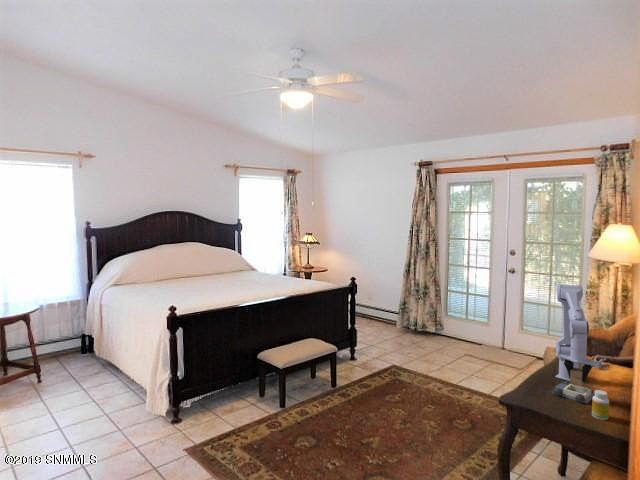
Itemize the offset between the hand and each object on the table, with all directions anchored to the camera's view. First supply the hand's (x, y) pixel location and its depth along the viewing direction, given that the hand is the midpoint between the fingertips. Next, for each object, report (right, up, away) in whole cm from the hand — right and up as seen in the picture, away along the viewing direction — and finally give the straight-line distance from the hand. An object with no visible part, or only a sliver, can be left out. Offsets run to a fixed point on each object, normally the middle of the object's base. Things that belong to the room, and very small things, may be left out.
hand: (577, 379), depth 178 cm
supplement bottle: (-2, -9, -17) cm, 19 cm away
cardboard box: (0, -2, 0) cm, 2 cm away
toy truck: (-1, -7, +2) cm, 7 cm away
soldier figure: (+32, -5, +34) cm, 47 cm away
